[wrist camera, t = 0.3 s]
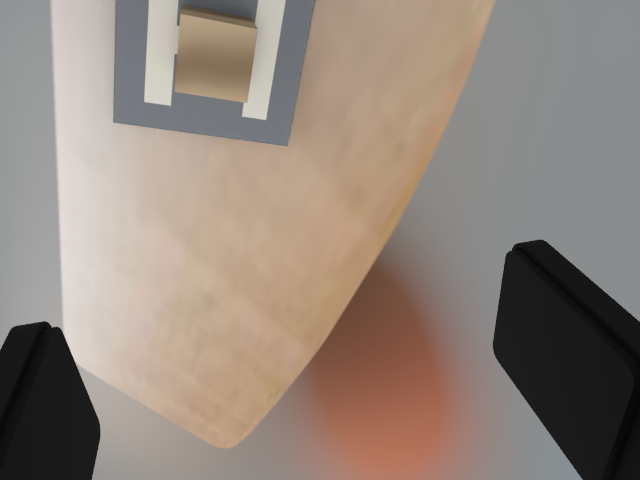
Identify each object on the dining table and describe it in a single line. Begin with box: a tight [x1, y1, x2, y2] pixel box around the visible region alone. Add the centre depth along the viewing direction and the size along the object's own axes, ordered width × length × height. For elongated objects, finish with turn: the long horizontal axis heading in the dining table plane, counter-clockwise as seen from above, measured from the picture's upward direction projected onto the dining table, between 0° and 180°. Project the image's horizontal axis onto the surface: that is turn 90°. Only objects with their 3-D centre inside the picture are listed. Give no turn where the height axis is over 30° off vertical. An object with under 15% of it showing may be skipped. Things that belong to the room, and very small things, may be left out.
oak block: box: [175, 5, 258, 103], centre depth 37 cm, size 5×5×5 cm
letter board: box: [113, 0, 315, 146], centre depth 39 cm, size 14×14×1 cm
